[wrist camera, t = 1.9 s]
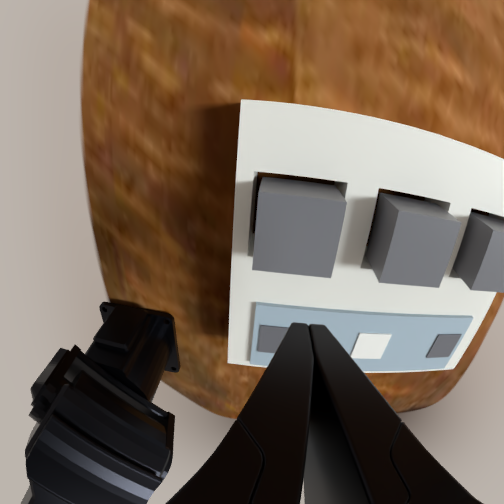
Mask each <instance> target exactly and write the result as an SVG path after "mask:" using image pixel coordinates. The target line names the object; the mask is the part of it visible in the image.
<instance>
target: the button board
mask: <svg viewBox="0 0 504 504" xmlns="http://www.w3.org/2000/svg"><path fill="white" fill-rule="evenodd" d="M257 172H267V173H277V174H286V175H295V176H303V177H311V178H318V179H326V180H333V181H335V184H334V185H335V186H336V187H337V189H338V190H339V191H340V193H341V194H342V196H343V197H344V199H345V200H346V202H347V205H346V210H345V216H344V221H343V226H342V231H341V236H340V241H339V245H338V250H337V254H336V259H335V263H334V268H333V272H332V276H331V278H324V277H314V276H304V275H294V274H284V273H275V272H266V271H256V270H252V264H253V252H254V240H255V233H253V222H254V210H255V197H256V185H257ZM379 188H382V189H388V190H393V191H398V192H403V193H408V194H413V195H418V196H423V197H425V200H424V201H426V202H431V203H435V204H438V205H439V206H440V207H442V208H443V209H444V210H446V211H447V212H448V213H450V214H451V215H452V216H454V217H455V218H456V219H458V220H459V221H460V222H461V227H460V230H459V233H458V237H457V240H456V243H455V246H454V249H453V252H452V255H451V257H450V260H449V263H448V266H447V268H446V271H445V274H444V276H443V279H442V281H441V284H440V286H439V288H435V287H423V286H411V285H399V284H387V283H379V282H378V280H377V278H376V276H375V274H374V272H373V269H372V267H371V265H370V263H369V261H368V260H367V258H366V256H365V255H366V251H367V247H368V246H366V244H367V240H368V236H369V232H370V228H371V223H372V219H373V214H374V210H375V205H376V200H377V195H378V190H379ZM471 208H474V209H477V210H481V211H485V212H488V213H489V217H493V218H496V219H500V220H504V159H502V158H500V157H497V156H495V155H493V154H490V153H488V152H485V151H483V150H480V149H478V148H475V147H473V146H470V145H467V144H464V143H462V142H459V141H456V140H453V139H450V138H447V137H444V136H441V135H438V134H435V133H432V132H428V131H425V130H422V129H418V128H415V127H411V126H407V125H403V124H400V123H396V122H392V121H388V120H383V119H379V118H375V117H370V116H365V115H360V114H355V113H350V112H345V111H339V110H333V109H327V108H321V107H314V106H307V105H299V104H290V103H281V102H270V101H257V100H241V108H240V122H239V137H238V152H237V168H236V185H235V202H234V221H233V240H232V261H231V284H230V309H229V338H228V363H232V364H240V365H249V366H257V367H268V365H269V363H270V361H271V359H272V358H273V356H274V354H275V352H276V350H277V349H278V347H279V345H280V343H281V341H282V339H283V338H284V336H285V334H286V332H287V330H288V328H289V326H290V325H291V323H293V322H297V323H306V324H308V325H309V324H322V325H325V326H326V327H327V328H328V329H329V330H330V332H331V333H332V334H333V335H334V337H335V338H336V339H337V340H338V341H339V343H340V344H341V345H342V346H343V348H344V349H345V350H346V351H347V352H348V354H349V355H350V356H351V357H352V359H353V360H354V361H355V362H356V364H357V365H358V366H359V367H360V369H361V370H362V371H363V372H364V373H390V372H417V371H434V370H447V369H454V367H455V366H456V364H457V363H458V361H459V360H460V358H461V357H462V355H463V353H464V352H465V350H466V349H467V347H468V345H469V344H470V342H471V340H472V339H473V337H474V335H475V333H476V332H477V330H478V328H479V326H480V324H481V322H482V321H483V319H484V317H485V315H486V313H487V311H488V309H489V307H490V305H491V303H492V301H493V299H494V297H495V295H496V292H489V291H474V290H470V289H469V287H468V286H467V285H466V284H465V283H464V281H463V280H462V279H461V278H460V277H459V275H458V274H457V273H456V272H455V271H454V269H453V268H452V267H453V264H454V262H455V259H456V256H457V253H458V250H459V247H460V244H461V241H462V238H463V235H464V232H465V229H466V226H467V222H468V219H469V215H470V212H471Z"/></svg>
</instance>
